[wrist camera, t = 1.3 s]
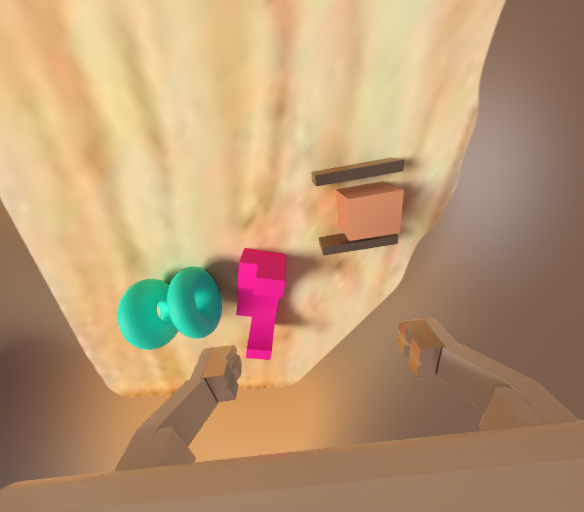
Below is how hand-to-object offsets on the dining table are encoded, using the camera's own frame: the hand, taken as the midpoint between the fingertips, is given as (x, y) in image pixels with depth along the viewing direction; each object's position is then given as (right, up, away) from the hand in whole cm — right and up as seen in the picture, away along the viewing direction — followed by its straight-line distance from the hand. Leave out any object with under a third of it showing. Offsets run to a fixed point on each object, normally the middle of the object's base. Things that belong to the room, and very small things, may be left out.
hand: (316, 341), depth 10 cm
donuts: (-18, -1, +24) cm, 30 cm away
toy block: (-7, -1, +25) cm, 26 cm away
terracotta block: (+8, +12, +18) cm, 23 cm away
